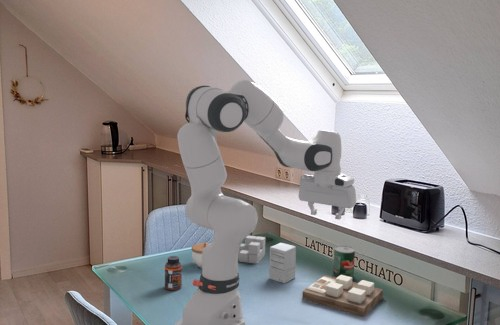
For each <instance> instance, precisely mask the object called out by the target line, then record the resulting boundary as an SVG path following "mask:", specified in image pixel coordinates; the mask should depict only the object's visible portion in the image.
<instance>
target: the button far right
mask: <svg viewBox="0 0 500 325" xmlns="http://www.w3.org/2000/svg"><path fill="white" fill-rule="evenodd" d="M357 283H358V284H357V288H358V289H362V290H366V295H371V294H372V293H373V292H374V287H375V282H372V281H368V280H364V279H362V280H360V281H359V282H357Z"/></svg>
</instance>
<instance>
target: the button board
mask: <svg viewBox="0 0 500 325" xmlns="http://www.w3.org/2000/svg"><path fill="white" fill-rule="evenodd" d="M330 282H334V283H336V278H335V277H333V276H331V275H326V274H325V275H323V276H322V277H320V278H319V279H317V280H316V281H315V282H314V283H313V282H312V284H310V285H309V286H308V287H306V288H305V289H304V290H302V293H301V294H302V298H301V300H303V301H306V302H310V303H313V304H316V305H319V306H320V305H321V306H323V307H327V308H332V309H335V310H338V311H342V312H344V313H347V314H351V315H355V316H358V317H362V318H364V317H365V316H367V314H368V313H369V312H370V311H371V310H372V309H373V308H374V307H376V305H377V304H379V302H380V301H381V300H382V299H383V295H384V294H383V293H384V288H383V289H382V288H378V287H375V286H374V292H373V293H372V294H371V295H366V297H365V301H363V302H362V303H361V304H360V303H356V302H352V301H349V300H348V291H350V290H351V289H352V288H353V287H354V288H357V284H358V283H359V282H355V281H352V286H351V287H350V288H349V289H348V290H347V289H343V294H342V295H341V296H339V297H334V296H331V295H327V294H326V285H328V284H329V283H330Z"/></svg>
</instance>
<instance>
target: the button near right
mask: <svg viewBox="0 0 500 325" xmlns="http://www.w3.org/2000/svg"><path fill="white" fill-rule="evenodd" d="M365 297H366V290H362V289H358V288H354V287H353V288H352V289H351V290H350V291H348V300H349V301H352V302H356V303H360V304H361V303H362V302H363V301H365Z"/></svg>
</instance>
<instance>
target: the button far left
mask: <svg viewBox="0 0 500 325" xmlns="http://www.w3.org/2000/svg"><path fill="white" fill-rule="evenodd" d="M352 282H353V279H352V277H349V276H344V275H340V276H338V277H337V278H336V283H338V284H342V285H343V289H347V290H348V289H349V288H350V287H351V286H352Z"/></svg>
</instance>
